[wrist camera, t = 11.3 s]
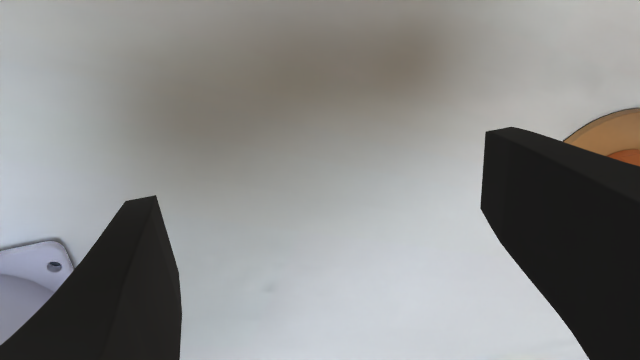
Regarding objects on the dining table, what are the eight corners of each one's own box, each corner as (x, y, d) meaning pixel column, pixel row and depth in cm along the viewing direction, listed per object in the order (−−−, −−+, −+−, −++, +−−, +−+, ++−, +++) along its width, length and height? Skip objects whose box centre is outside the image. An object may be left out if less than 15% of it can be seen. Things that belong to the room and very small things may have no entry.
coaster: (669, 248, 30) (675, 253, 29) (512, 286, 29) (516, 291, 28) (714, 91, 25) (722, 94, 25) (529, 129, 24) (534, 133, 24)
